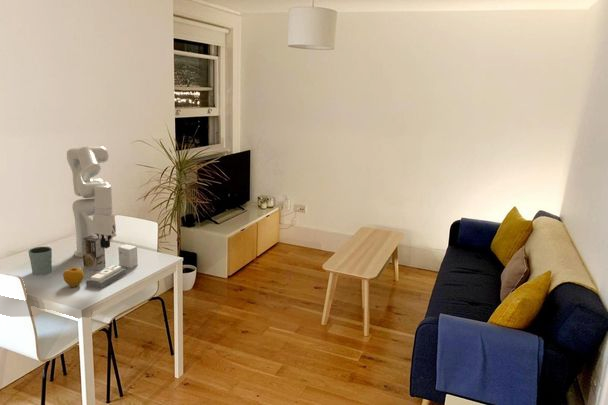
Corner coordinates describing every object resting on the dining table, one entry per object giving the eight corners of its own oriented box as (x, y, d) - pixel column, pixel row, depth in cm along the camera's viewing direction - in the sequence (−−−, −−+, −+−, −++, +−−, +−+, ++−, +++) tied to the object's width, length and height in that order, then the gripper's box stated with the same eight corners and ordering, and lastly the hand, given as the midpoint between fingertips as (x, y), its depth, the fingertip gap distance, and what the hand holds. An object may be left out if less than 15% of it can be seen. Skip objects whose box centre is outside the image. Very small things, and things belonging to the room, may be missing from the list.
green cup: (48, 276, 226) (47, 253, 223) (26, 276, 225) (24, 253, 222) (56, 268, 236) (54, 246, 233) (34, 268, 234) (33, 246, 231)
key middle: (105, 274, 228) (105, 268, 227) (113, 276, 227) (113, 270, 226) (99, 278, 224) (99, 272, 223) (107, 279, 223) (107, 273, 222)
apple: (75, 280, 223) (74, 263, 221) (89, 284, 220) (88, 266, 218) (59, 286, 215) (58, 269, 213) (73, 291, 212) (72, 272, 210)
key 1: (97, 279, 222) (97, 273, 222) (105, 280, 221) (105, 274, 221) (91, 282, 218) (90, 276, 217) (99, 284, 217) (99, 278, 216)
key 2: (113, 270, 234) (113, 264, 233) (121, 271, 233) (121, 266, 232) (107, 273, 229) (107, 267, 229) (115, 275, 228) (115, 269, 228)
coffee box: (106, 266, 242) (104, 237, 238) (97, 270, 236) (95, 241, 232) (92, 263, 245) (90, 235, 241) (82, 267, 239) (81, 238, 235)
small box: (138, 265, 246) (137, 246, 244) (130, 268, 242) (129, 249, 239) (126, 262, 250) (126, 243, 247) (118, 265, 245) (118, 246, 242)
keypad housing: (111, 271, 236) (111, 266, 235) (125, 274, 234) (125, 268, 233) (86, 286, 218) (86, 280, 217) (101, 288, 216) (101, 282, 215)
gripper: (84, 210, 216) (86, 247, 220) (113, 214, 212) (114, 252, 216) (94, 207, 223) (96, 242, 227) (123, 210, 219) (124, 247, 224)
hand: (105, 247), depth 222 cm, fingers closed
